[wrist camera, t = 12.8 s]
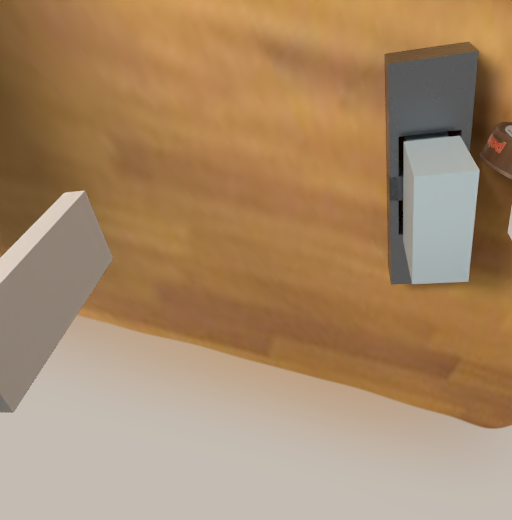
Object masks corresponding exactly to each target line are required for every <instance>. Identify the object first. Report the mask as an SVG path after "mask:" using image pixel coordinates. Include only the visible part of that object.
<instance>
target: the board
mask: <svg viewBox="0 0 512 520" xmlns="http://www.w3.org/2000/svg"><path fill="white" fill-rule="evenodd" d="M478 52H479V51H478V50H477V49H476V48H475V47H474V46H473V45H472V44H470V43H469V42H465V43H458V44H451V45H444V46H437V47H430V48H423V49H416V50H409V51H402V52H396V53H389V54H385V101H386V161H387V221H388V267H389V274H390V281H391V284H407V283H412V281H411V277H410V272H409V267H408V262H407V257H406V252H405V248H404V243H403V217H399V201H400V200H403V170H404V161H399V137H400V136H409V135H418V134H428V133H437V132H446V131H453V136H460V137H461V138H462V140H463V142H464V144H465V145H466V147H467V149H468V151H469V152H470V144H471V133H472V121H473V110H474V98H475V87H476V75H477V64H478Z"/></svg>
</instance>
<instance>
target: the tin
mask: <svg viewBox="0 0 512 520" xmlns="http://www.w3.org/2000/svg"><path fill="white" fill-rule="evenodd" d="M479 156H480V158H481V159H482V160H483V161H484V163H486V164H487V165H488V166H489V167H491V168H492V169H494V170H496V171H497V172H499V173H500V174H502V175H504V176H506V177H508V178H510V179H512V122H503V123H499V124H497V125H496V126H495V128H494V129H493V131H492V133H491V134H490V136H489V138H488V140H487V142H486V144H485V146H484V148H483V149H482V150H481V151H480V153H479Z"/></svg>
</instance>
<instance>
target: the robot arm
mask: <svg viewBox="0 0 512 520" xmlns="http://www.w3.org/2000/svg"><path fill="white" fill-rule="evenodd" d="M508 234H509V236H510V238H511V240H512V207H511V214H510V221H509V227H508ZM112 260H113V257H112V255H111V252H110V250H109V247H108V245H107V242H106V240H105V238H104V235H103V233H102V230H101V228H100V225H99V223H98V221H97V218H96V216H95V213H94V211H93V208H92V206H91V204H90V201H89V199H88V196H87V194H86V191H75V192H65V193H63V194H62V196H61V197H60V198H59V199H58V200H57V201H56V202H55V203H54V204H53V205H52V206H51V207H50V208H49V209H48V210H47V211H46V212H45V213H44V214H43V215H42V216H41V217H40V218H39V219H38V220H37V221H36V222H35V223H34V224H33V225H32V226H31V227H30V228H29V229H28V230H27V231H26V232H25V233H24V234H23V235H22V236H21V237H20V238H19V239H18V240H17V241H16V242H15V243H14V244H13V245H12V246H11V247H10V248H9V250H8V251H7V252H6V253H5V254H4V255H3V256H2V257H1V258H0V412H14V411H15V409H16V408H17V406H18V405H19V403H20V401H21V400H22V398H23V397H24V395H25V394H26V392H27V391H28V389H29V388H30V386H31V385H32V383H33V382H34V380H35V378H36V377H37V375H38V374H39V372H40V371H41V369H42V368H43V366H44V364H45V363H46V361H47V360H48V358H49V357H50V355H51V354H52V352H53V351H54V349H55V348H56V346H57V345H58V343H59V341H60V340H61V338H62V337H63V335H64V334H65V332H66V331H67V329H68V327H69V326H70V325H71V323H72V321H73V320H74V318H75V317H76V315H77V314H78V312H79V311H80V309H81V308H82V306H83V305H84V303H85V301H86V300H87V298H88V297H89V295H90V294H91V292H92V291H93V289H94V288H95V286H96V285H97V283H98V281H99V280H100V278H101V277H102V275H103V274H104V272H105V271H106V269H107V268H108V266H109V265H110V263H111V261H112Z"/></svg>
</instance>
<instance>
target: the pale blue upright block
mask: <svg viewBox="0 0 512 520" xmlns="http://www.w3.org/2000/svg"><path fill="white" fill-rule="evenodd" d="M403 155H404V170H403V243H404V248H405V252H406V257H407V262H408V267H409V272H410V277H411V281H412V284H429V283H450V282H468V280H469V270H470V261H471V251H472V241H473V231H474V221H475V211H476V202H477V192H478V182H479V172H480V170H479V168H478V167H477V165H476V163H475V161H474V160H473V158H472V156H471V154H470V152H469V151H468V149H467V147H466V145H465V144H464V142H463V140H462V138H461V137H460V136H452V137H449V135H448V133H447V131H446V132H437V133H428V134H418V135H409V136H403Z"/></svg>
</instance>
